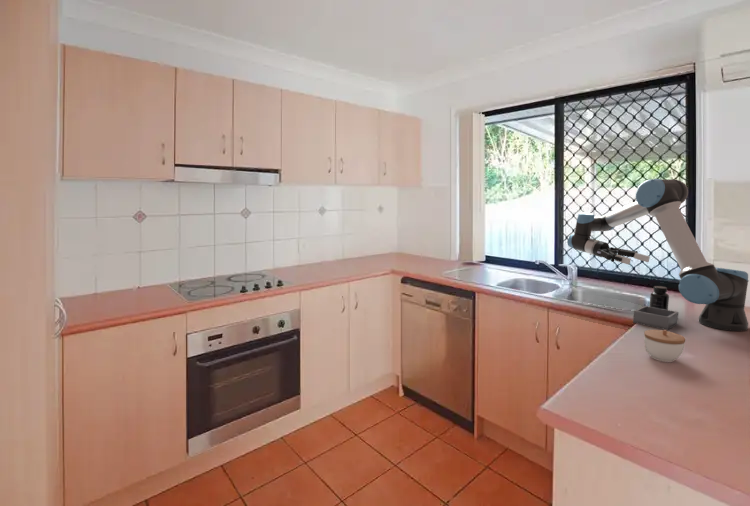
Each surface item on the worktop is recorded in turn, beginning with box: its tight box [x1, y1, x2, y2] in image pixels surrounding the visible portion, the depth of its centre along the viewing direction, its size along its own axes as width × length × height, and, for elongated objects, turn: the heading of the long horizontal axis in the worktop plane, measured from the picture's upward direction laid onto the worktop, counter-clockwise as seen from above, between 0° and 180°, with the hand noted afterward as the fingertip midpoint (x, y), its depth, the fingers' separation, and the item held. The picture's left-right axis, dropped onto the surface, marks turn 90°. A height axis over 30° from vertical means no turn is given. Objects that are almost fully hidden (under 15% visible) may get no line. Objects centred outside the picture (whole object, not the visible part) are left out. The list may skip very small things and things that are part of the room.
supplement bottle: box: [649, 285, 670, 310], centre depth 179 cm, size 7×7×12 cm
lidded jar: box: [643, 329, 686, 363], centre depth 130 cm, size 11×11×9 cm
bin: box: [632, 305, 679, 331], centre depth 166 cm, size 12×12×5 cm
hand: (639, 260), depth 183 cm, fingers open, 13 cm apart
